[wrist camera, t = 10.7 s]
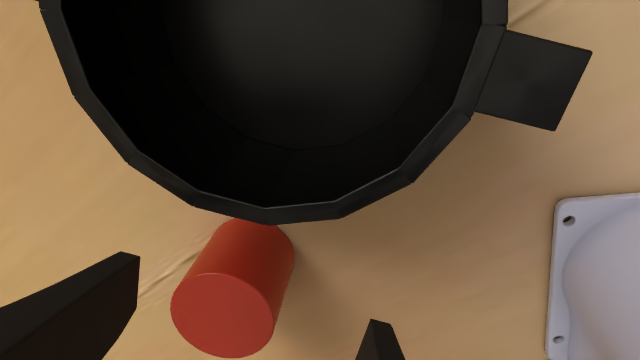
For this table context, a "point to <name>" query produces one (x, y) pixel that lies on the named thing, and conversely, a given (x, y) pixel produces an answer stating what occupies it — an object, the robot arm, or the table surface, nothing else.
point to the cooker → (300, 92)
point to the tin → (234, 290)
